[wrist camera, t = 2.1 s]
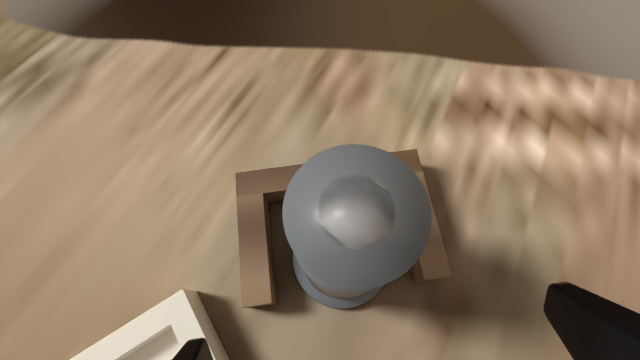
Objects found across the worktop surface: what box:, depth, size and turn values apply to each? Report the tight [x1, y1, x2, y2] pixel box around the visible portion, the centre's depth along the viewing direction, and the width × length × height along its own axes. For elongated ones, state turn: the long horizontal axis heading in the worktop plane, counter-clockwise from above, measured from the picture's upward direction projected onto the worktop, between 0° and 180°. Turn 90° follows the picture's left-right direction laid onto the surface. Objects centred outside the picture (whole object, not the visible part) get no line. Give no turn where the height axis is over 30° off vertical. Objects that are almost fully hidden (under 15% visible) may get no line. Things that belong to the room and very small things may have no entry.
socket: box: [236, 149, 453, 308], centre depth 19 cm, size 8×11×2 cm
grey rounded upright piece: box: [282, 144, 432, 309], centre depth 15 cm, size 6×6×10 cm
